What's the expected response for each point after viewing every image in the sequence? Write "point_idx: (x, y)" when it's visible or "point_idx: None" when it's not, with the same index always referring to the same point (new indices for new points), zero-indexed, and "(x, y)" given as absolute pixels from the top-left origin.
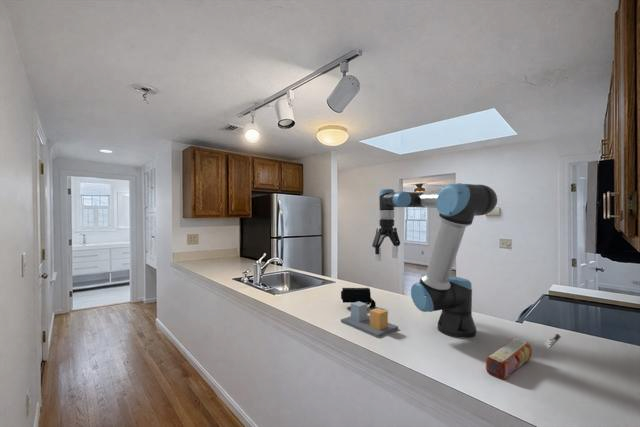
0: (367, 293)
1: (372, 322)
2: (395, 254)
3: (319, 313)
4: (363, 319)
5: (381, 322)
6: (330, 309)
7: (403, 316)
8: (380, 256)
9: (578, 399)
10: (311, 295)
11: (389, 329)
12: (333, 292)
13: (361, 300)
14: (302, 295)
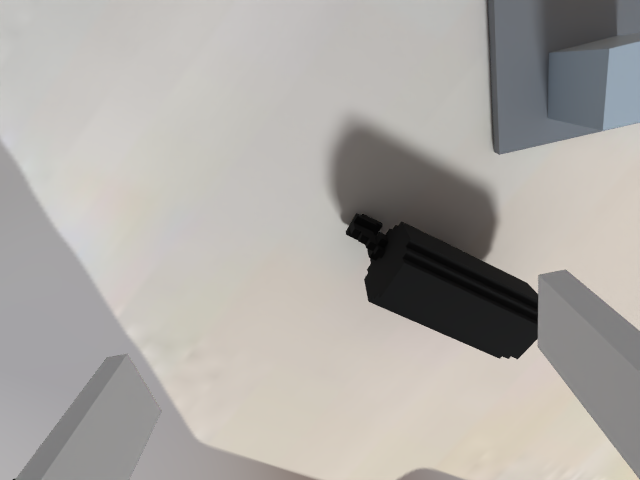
0: (426, 247)
1: None
2: (103, 419)
3: (635, 256)
4: (584, 44)
5: None
6: None
7: (306, 32)
8: (601, 321)
9: None
10: (494, 445)
11: None
12: (388, 445)
13: (445, 243)
14: (525, 456)
